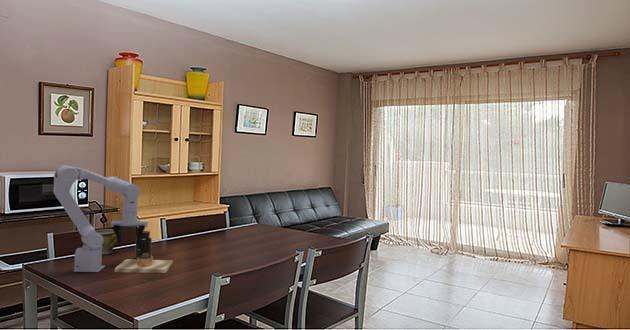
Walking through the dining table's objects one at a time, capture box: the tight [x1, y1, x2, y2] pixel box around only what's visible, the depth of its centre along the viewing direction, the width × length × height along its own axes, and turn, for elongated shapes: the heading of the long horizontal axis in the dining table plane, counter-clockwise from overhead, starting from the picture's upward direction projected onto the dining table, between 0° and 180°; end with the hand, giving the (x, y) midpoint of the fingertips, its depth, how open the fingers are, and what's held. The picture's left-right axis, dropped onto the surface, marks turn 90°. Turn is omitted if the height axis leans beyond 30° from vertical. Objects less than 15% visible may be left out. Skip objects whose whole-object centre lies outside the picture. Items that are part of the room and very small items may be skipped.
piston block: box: [114, 253, 174, 274], centre depth 185 cm, size 20×14×6 cm
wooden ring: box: [136, 255, 154, 266], centre depth 185 cm, size 6×6×3 cm
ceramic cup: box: [95, 228, 118, 255], centre depth 205 cm, size 13×10×10 cm
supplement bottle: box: [134, 230, 153, 259], centre depth 200 cm, size 7×7×12 cm
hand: (128, 243), depth 188 cm, fingers open, 7 cm apart
